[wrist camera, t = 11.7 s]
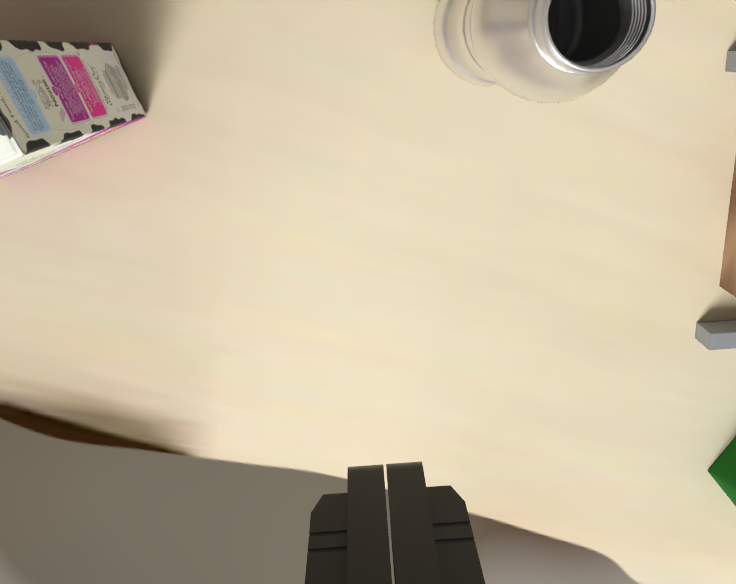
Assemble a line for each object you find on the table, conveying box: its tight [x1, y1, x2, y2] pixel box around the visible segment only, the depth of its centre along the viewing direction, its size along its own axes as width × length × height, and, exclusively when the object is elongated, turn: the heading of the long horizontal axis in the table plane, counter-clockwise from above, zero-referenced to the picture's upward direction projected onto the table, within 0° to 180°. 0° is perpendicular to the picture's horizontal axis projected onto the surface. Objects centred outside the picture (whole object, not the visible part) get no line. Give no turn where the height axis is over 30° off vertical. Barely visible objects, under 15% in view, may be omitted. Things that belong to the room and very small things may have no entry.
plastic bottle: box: [434, 0, 656, 103], centre depth 31 cm, size 6×7×20 cm
